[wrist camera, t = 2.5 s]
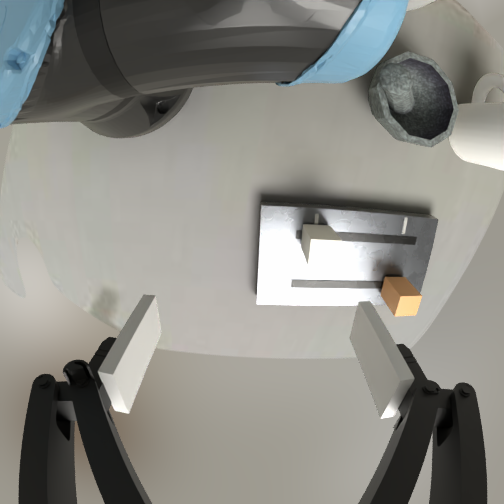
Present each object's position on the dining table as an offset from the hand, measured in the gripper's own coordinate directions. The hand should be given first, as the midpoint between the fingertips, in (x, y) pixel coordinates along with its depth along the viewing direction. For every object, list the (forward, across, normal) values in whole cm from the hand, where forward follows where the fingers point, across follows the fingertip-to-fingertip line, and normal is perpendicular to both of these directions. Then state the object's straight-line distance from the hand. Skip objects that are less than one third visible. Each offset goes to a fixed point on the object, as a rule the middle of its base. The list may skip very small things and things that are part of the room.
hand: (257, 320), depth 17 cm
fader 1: (+16, +6, 0) cm, 17 cm away
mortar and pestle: (+18, +14, +16) cm, 28 cm away
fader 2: (+16, +17, -6) cm, 24 cm away
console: (+18, +11, -3) cm, 22 cm away
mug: (+18, +28, +17) cm, 37 cm away
